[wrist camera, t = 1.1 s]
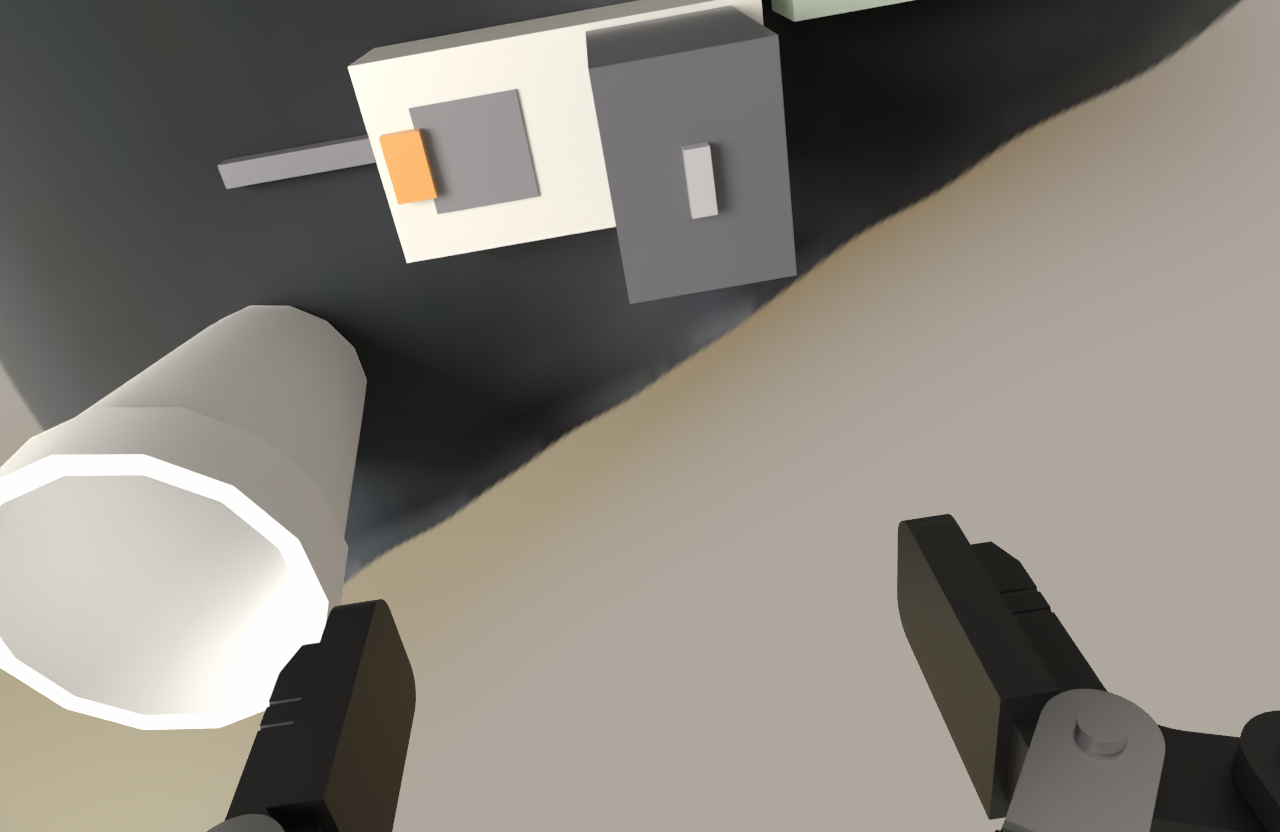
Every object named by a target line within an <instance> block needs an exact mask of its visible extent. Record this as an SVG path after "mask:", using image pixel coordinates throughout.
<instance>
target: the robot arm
mask: <svg viewBox="0 0 1280 832" xmlns="http://www.w3.org/2000/svg"><path fill="white" fill-rule="evenodd" d="M897 577H898V578H897V579H898V580H897V596H898V597H897V598H898V608H899V613H900V617H901V622H902V626H903V629H904V632H905V635H906V637H907V639H908V641H909V644H910V646H911V648H912V650H913V653H914V655H915V657H916V659H917V661H918V664H919V666H920V668H921V670H922V672H923V675H924V677H925V679H926V681H927V683H928V686H929V688H930V690H931V692H932V694H933V697H934V699H935V701H936V703H937V705H938V708H939V710H940V712H941V714H942V717H943V719H944V721H945V723H946V725H947V728H948V730H949V732H950V734H951V736H952V739H953V741H954V743H955V745H956V747H957V750H958V752H959V754H960V756H961V759H962V761H963V763H964V765H965V767H966V770H967V772H968V774H969V776H970V778H971V781H972V783H973V785H974V787H975V789H976V792H977V794H978V796H979V798H980V800H981V803H982V805H983V807H984V809H985V812H986V814H987V816H988V818H989V819H997V818H1004V817H1006V818H1005V821H1004V824H1003V827H1002V829H1001V831H999V830H996V831H995V832H1280V711H1271V712H1265V713H1263V714H1260V715H1257V716H1255V717H1254V718H1252V719H1251V720H1250V721H1249V722H1248V723H1247V724H1246V725H1245V726H1244V728H1243V730H1242V733H1241V736H1240V738H1239V737H1231V736H1222V735H1214V734H1205V733H1197V732H1189V731H1182V730H1176V729H1171V728H1167V727H1164V726H1160V725H1158V724H1156V722H1155V721H1154V720H1153V719H1152V718H1151V717H1150V716H1149V714H1147V713H1146V712H1145V711H1144V710H1143V709H1141V708H1140V707H1139V706H1137V705H1136V704H1134V703H1133V702H1131V701H1129V700H1127V699H1125V698H1123V697H1121V696H1118V695H1115V694H1112V693H1109V692H1108V691H1107V690H1106V689H1105V688H1104V686H1103V685H1102V683H1101V682H1100V681H1099V679H1098V677H1097V676H1096V674H1095V673H1094V671H1093V670H1092V668H1091V667H1090V665H1089V664H1088V662H1087V661H1086V660H1085V658H1084V656H1083V655H1082V653H1081V652H1080V651H1079V649H1078V647H1077V646H1076V645H1075V643H1074V642H1073V640H1072V639H1071V637H1070V636H1069V634H1068V633H1067V632H1066V630H1065V628H1064V627H1063V625H1062V624H1061V622H1060V621H1059V619H1058V618H1057V616H1056V615H1055V613H1054V612H1053V613H1052V612H1051V609H1050V606H1049V604H1048V603H1047V601H1046V600H1045V598H1044V597H1043V596H1042V594H1041V592H1038V591H1037V587H1036V585H1035V584H1034V582H1033V581H1032V579H1031V578H1030V576H1029V575H1028V573H1027V572H1026V570H1025V569H1024V567H1023V566H1022V564H1021V563H1020V562H1019V561H1018V560H1017V559H1015V558H1014V557H1012V556H1011V555H1010V554H1008V553H1007V552H1005V551H1004V550H1002V549H1001V548H1000V547H998V546H997V545H995V544H994V543H993V542H985V543H979V544H972V545H970V543H969V542H968V540H967V538H966V537H965V535H964V534H963V532H962V530H961V529H960V527H959V525H958V524H957V522H956V521H955V519H954V518H953V517H952V516H951V515H950V514H945V515H938V516H932V517H925V518H919V519H912V520H906V521H901V522H900V524H899V527H898V576H897ZM415 693H416V691H415V681H414V675H413V671H412V668H411V665H410V662H409V659H408V657H407V654H406V651H405V649H404V646H403V643H402V641H401V638H400V635H399V633H398V630H397V627H396V625H395V622H394V619H393V617H392V614H391V611H390V609H389V606H388V605H387V603H386V602H385V601H384V600H382V599H380V600H373V601H366V602H360V603H353V604H348V605H340V606H335V607H333V608H332V610H331V611H330V613H329V616H328V619H327V622H326V625H325V628H324V631H323V634H322V637H321V640H320V643H313V644H306V645H302V646H301V647H300V648H299V650H298V651H297V652H296V653H295V655H294V656H293V657H292V658H291V659H290V661H289V662H288V663H287V664H286V665H285V667H284V668H283V669H282V670H281V671H280V673H279V675H278V678H277V681H276V683H275V686H274V689H273V692H272V694H271V697H270V700H269V707H267V708H266V711H265V714H264V716H263V719H262V721H261V724H260V726H261V730H260V731H258V732H257V735H256V738H255V740H254V743H253V746H252V749H251V751H250V754H249V757H248V759H247V762H246V765H245V768H244V770H243V773H242V776H241V778H240V781H239V784H238V787H237V789H236V792H235V795H234V797H233V800H232V803H231V806H230V808H229V811H228V814H227V816H226V819H225V821H224V822H222V823H220V824H218V825H216V826H215V827H213V828H212V829H210V830H209V831H207V832H392V829H393V823H394V818H395V813H396V808H397V802H398V797H399V792H400V786H401V781H402V775H403V770H404V765H405V760H406V754H407V749H408V744H409V738H410V732H411V728H412V722H413V717H414V712H415V702H416V694H415Z"/></svg>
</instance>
